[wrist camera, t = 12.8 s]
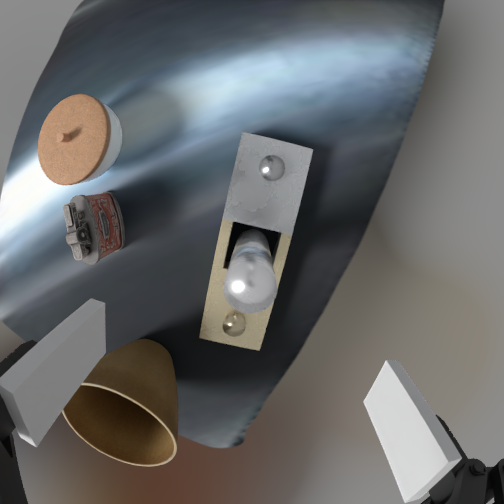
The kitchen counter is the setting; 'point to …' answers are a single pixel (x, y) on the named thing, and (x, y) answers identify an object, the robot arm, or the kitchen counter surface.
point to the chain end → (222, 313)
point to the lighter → (94, 226)
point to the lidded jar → (79, 140)
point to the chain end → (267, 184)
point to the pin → (250, 274)
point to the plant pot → (129, 405)
